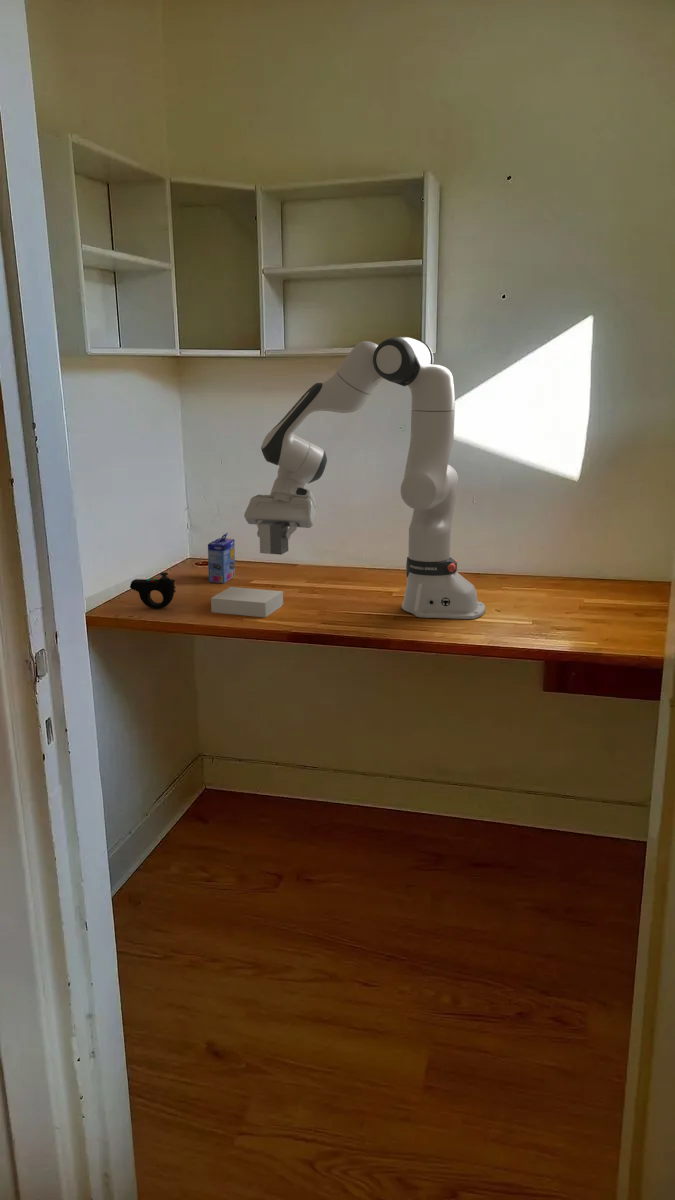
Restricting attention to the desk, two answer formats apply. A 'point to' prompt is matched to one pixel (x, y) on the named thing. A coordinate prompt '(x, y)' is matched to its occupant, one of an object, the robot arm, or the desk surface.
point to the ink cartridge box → (221, 560)
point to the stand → (247, 602)
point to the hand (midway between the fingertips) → (273, 536)
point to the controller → (161, 585)
